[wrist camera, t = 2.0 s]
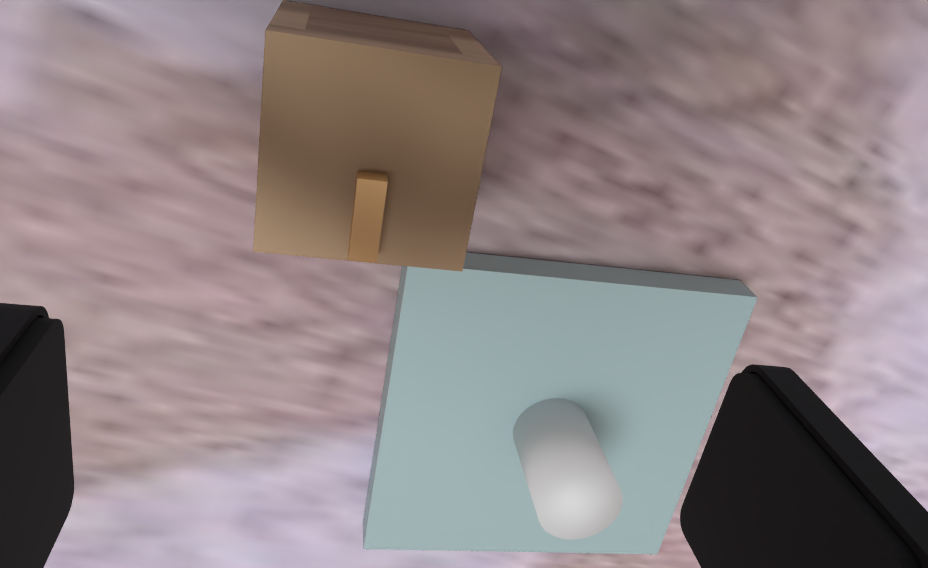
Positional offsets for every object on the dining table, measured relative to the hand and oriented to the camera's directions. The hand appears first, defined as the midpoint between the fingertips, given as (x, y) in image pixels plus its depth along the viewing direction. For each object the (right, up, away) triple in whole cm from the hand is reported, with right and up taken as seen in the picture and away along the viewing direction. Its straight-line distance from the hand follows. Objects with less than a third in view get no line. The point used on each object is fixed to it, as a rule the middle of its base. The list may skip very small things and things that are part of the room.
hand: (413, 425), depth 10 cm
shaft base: (+4, -3, +22) cm, 23 cm away
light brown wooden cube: (-3, +8, +15) cm, 17 cm away
